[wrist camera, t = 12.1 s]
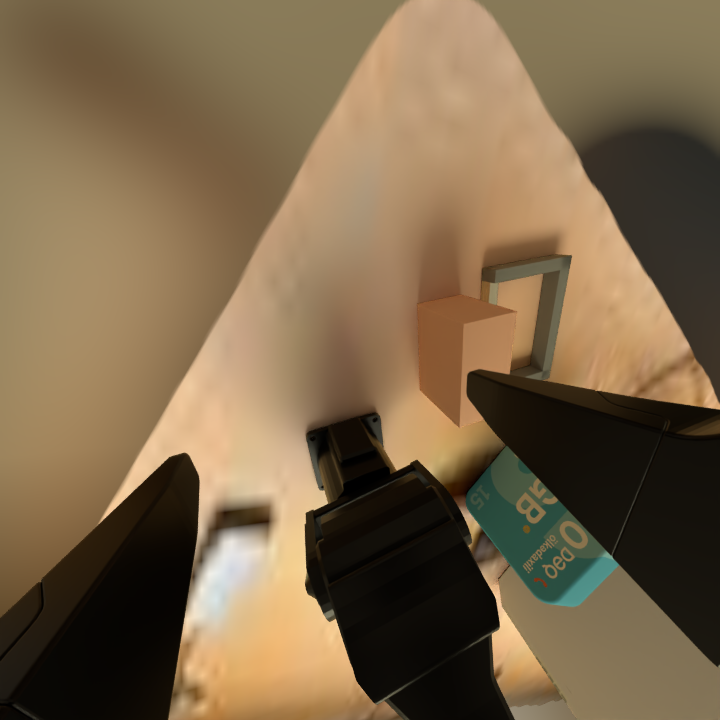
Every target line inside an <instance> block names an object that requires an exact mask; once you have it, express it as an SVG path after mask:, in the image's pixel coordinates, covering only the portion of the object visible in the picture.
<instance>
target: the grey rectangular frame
mask: <svg viewBox="0 0 720 720" xmlns="http://www.w3.org/2000/svg"><path fill="white" fill-rule="evenodd" d="M571 258H572V255H559V254H555V255H549V256H544V257H539V258H534V259H528V260H523V261H518V262H513V263H507V264H502V265H497V266H491V267H486V268H483V271H482V287H481V301H484V302H487V303H490V304H494V305H497V295H498V284H499V283H500V282H504V281H509V280H514V279H519V278H524V277H529V276H534V275H538V274H543V273H544V277H543V284H542V290H541V297H540V303H539V310H538V317H537V323H536V330H535V336H534V343H533V350H532V356H531V363H530V366H527V367H523V368H520V369H516V370H513V371H510V375H515V376H521V377H526V378H531V379H537V380H544V379H548V378H549V376H550V371H551V366H552V360H553V355H554V350H555V344H556V339H557V333H558V328H559V323H560V317H561V312H562V307H563V301H564V296H565V291H566V285H567V280H568V274H569V269H570V264H571Z"/></svg>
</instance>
